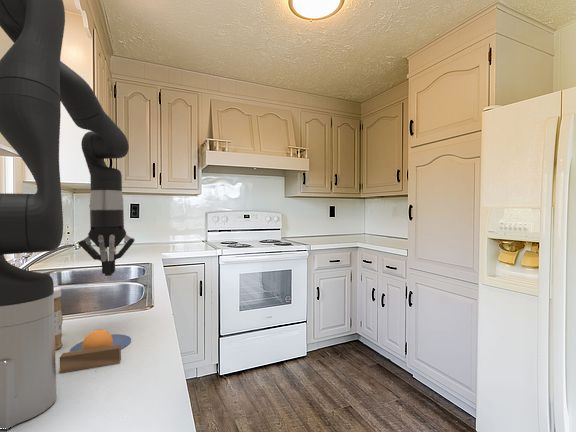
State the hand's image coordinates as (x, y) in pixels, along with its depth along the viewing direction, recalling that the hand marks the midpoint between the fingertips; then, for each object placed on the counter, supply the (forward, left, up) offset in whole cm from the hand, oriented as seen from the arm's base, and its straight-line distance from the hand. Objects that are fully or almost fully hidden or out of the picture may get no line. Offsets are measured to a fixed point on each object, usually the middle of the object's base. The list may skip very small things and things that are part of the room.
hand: (108, 275), depth 81 cm
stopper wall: (-19, -10, -14) cm, 25 cm away
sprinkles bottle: (-12, +5, -14) cm, 20 cm away
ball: (-15, -8, -11) cm, 20 cm away
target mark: (-10, -5, -14) cm, 18 cm away
